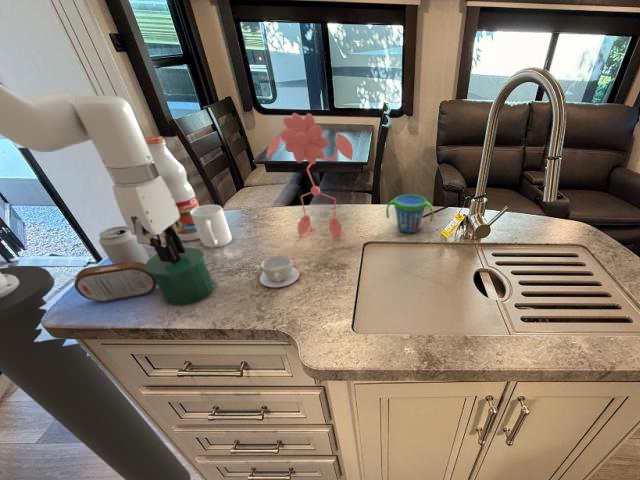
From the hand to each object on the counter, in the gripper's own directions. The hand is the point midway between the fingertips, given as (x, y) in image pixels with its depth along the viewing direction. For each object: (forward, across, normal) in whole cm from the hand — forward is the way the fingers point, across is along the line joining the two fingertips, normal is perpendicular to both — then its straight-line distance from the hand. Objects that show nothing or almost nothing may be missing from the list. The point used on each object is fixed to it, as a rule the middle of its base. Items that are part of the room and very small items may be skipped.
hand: (173, 256), depth 72 cm
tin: (+10, +3, -14) cm, 17 cm away
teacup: (+10, -7, +20) cm, 23 cm away
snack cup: (+10, -39, +54) cm, 67 cm away
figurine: (+10, -28, +25) cm, 39 cm away
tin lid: (+2, 0, 0) cm, 2 cm away
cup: (+10, -24, -4) cm, 26 cm away
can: (+10, -7, -18) cm, 22 cm away
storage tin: (+10, 0, 0) cm, 10 cm away
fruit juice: (+10, -30, -15) cm, 35 cm away
